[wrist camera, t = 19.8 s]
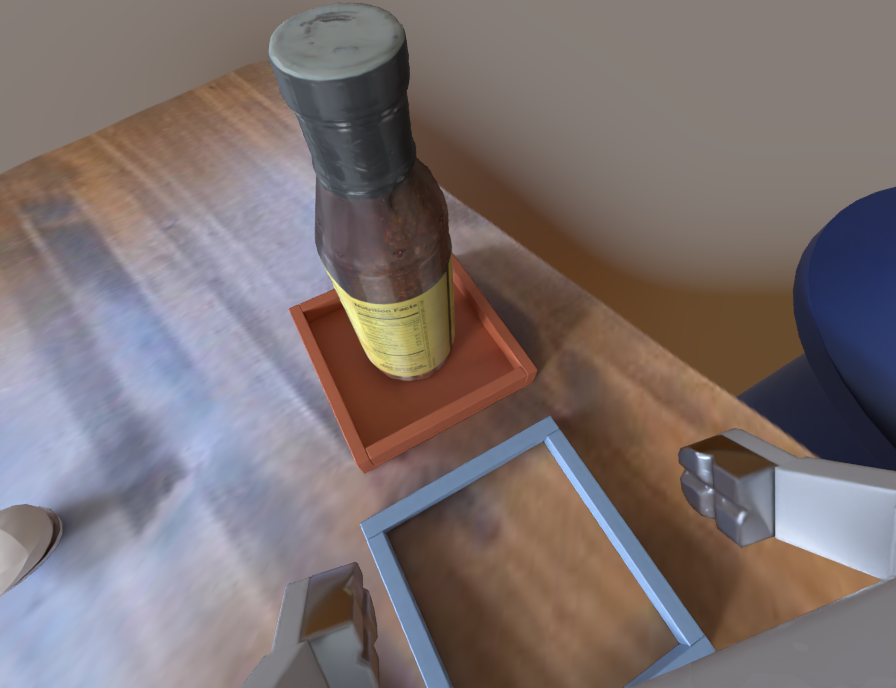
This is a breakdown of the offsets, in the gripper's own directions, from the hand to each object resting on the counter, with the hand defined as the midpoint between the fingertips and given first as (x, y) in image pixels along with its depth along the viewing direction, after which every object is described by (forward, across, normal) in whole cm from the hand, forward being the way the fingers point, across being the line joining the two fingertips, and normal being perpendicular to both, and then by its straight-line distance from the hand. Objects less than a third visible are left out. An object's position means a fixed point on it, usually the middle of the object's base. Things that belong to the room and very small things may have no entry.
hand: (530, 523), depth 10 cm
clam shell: (+17, +25, +6) cm, 31 cm away
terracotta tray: (+21, +1, +1) cm, 21 cm away
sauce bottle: (+21, +1, +1) cm, 21 cm away
